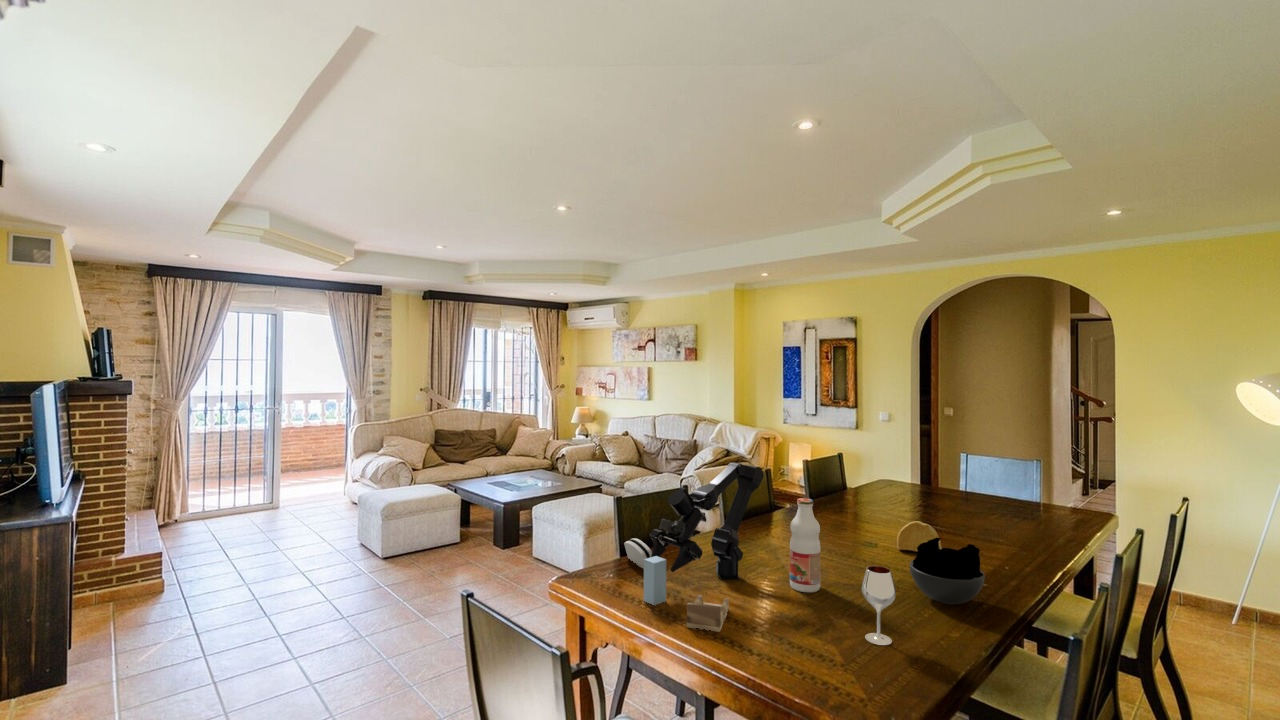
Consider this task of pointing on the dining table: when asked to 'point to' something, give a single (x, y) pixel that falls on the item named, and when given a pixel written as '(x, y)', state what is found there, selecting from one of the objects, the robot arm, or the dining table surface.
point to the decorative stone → (915, 535)
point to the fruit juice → (805, 549)
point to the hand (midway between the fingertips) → (661, 567)
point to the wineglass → (878, 597)
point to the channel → (706, 614)
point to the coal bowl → (947, 572)
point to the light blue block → (654, 580)
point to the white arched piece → (637, 551)
